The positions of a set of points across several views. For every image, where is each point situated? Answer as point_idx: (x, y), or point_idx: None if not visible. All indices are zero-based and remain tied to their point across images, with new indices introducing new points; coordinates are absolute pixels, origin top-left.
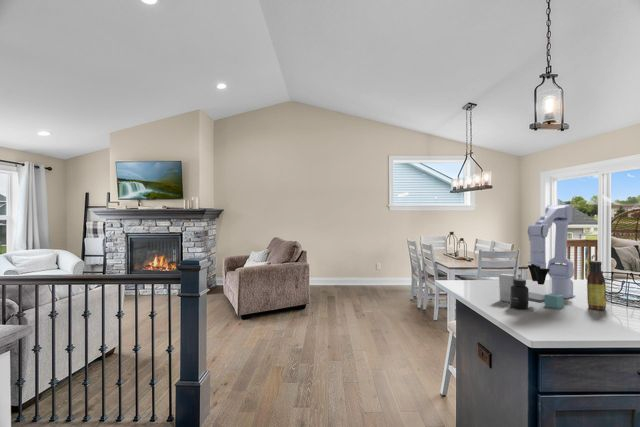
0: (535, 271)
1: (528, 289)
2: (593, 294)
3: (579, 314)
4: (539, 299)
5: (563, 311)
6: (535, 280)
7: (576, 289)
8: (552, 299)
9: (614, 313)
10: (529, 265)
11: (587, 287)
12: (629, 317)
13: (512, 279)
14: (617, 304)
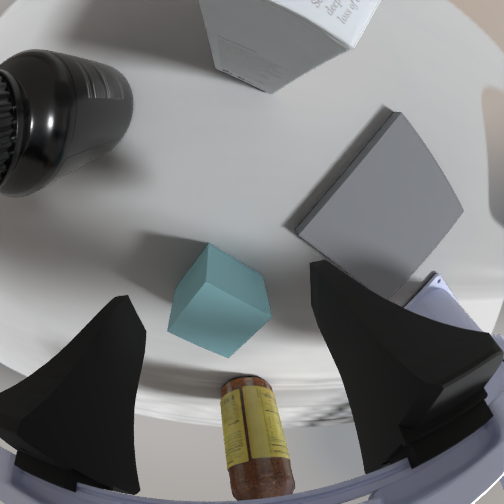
0: (29, 391)
1: (15, 196)
2: (226, 430)
3: None
4: (314, 232)
5: None
6: (311, 289)
7: None
8: (181, 301)
9: (202, 406)
10: (452, 395)
11: (254, 443)
12: (173, 416)
13: (216, 6)
14: (326, 411)
